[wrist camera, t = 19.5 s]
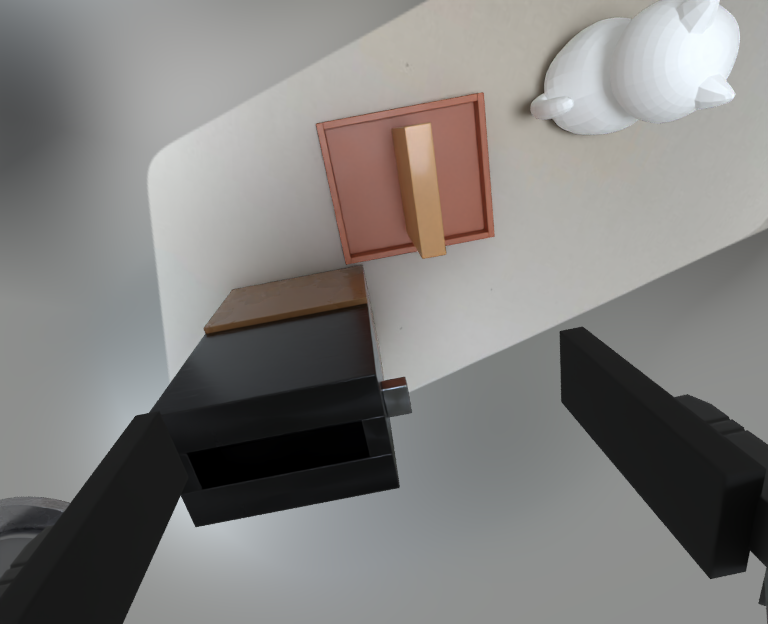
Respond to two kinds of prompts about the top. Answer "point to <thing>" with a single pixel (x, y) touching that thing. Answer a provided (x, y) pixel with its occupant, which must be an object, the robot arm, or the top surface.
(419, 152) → the toast
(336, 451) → the toaster
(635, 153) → the top surface
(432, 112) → the tray
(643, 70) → the cat figurine
